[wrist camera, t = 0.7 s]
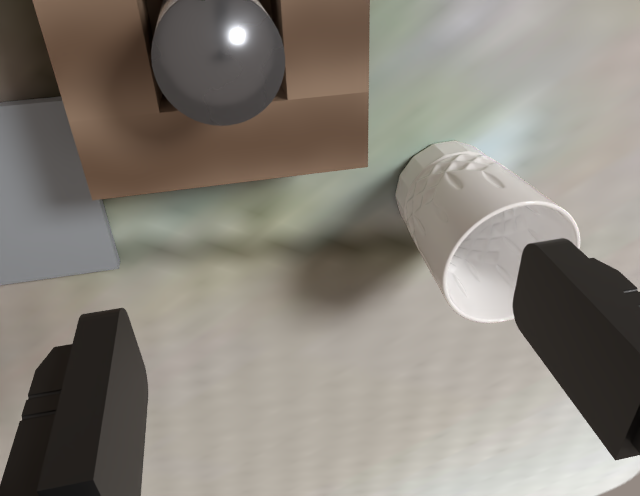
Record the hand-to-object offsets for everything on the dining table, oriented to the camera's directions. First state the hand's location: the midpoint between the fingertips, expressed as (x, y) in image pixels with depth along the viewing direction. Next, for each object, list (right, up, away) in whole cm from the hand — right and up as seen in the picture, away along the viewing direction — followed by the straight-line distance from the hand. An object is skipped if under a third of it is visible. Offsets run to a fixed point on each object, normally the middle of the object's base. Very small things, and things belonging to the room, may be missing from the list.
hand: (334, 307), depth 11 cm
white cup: (+8, +6, +27) cm, 28 cm away
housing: (-6, +14, +18) cm, 23 cm away
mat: (-19, +4, +21) cm, 28 cm away
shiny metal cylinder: (-6, +12, +16) cm, 21 cm away
